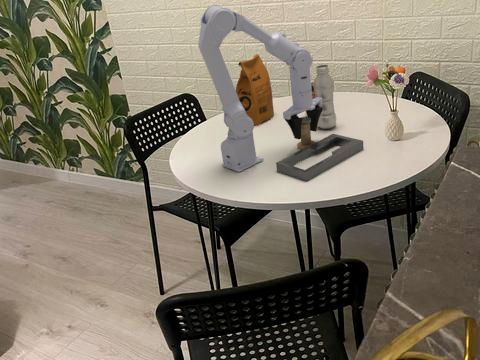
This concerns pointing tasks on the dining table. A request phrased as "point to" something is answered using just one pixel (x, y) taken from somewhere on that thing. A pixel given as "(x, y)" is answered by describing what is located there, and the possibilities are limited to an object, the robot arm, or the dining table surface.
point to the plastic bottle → (325, 97)
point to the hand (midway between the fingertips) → (305, 134)
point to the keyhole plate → (338, 155)
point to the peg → (305, 134)
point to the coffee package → (255, 90)
